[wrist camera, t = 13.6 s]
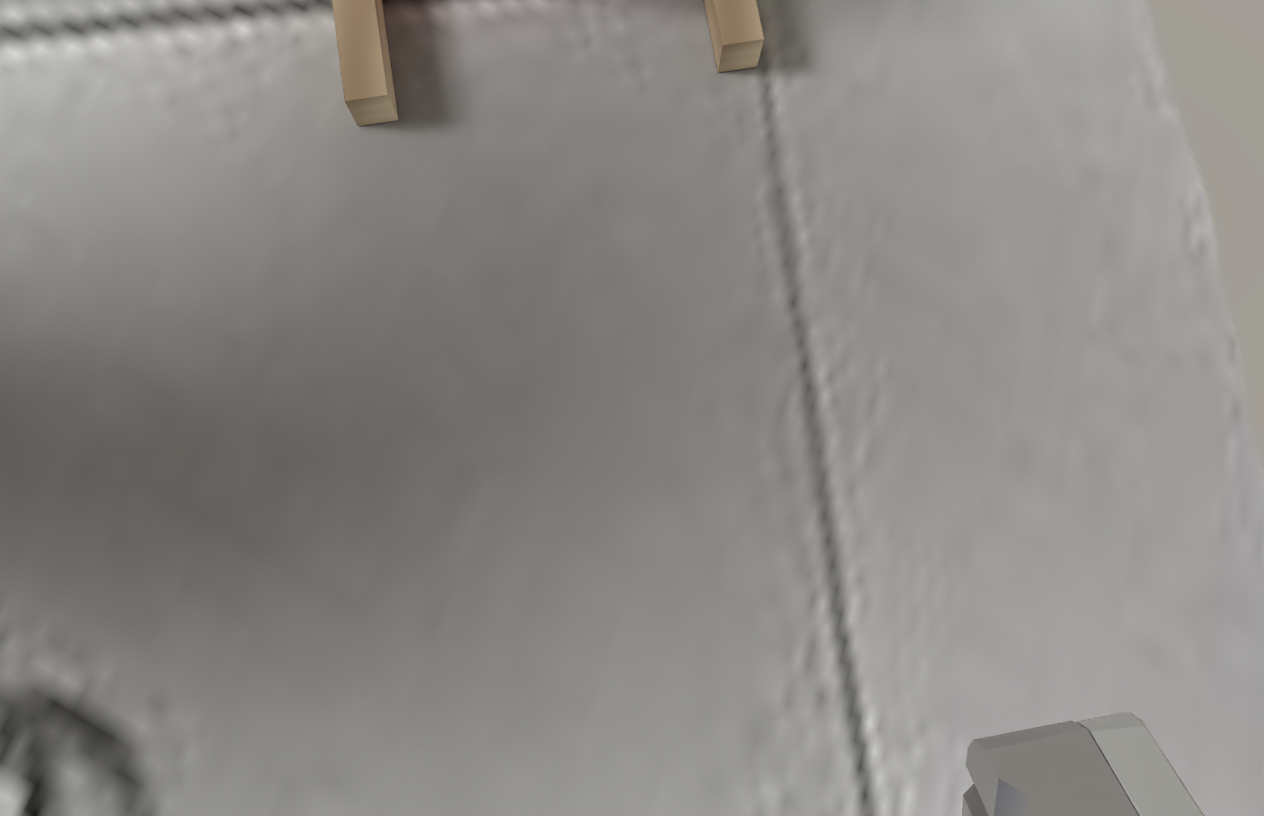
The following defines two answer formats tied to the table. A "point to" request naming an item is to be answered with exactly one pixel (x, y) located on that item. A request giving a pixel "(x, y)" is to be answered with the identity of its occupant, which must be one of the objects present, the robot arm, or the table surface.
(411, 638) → the table surface
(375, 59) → the bay
